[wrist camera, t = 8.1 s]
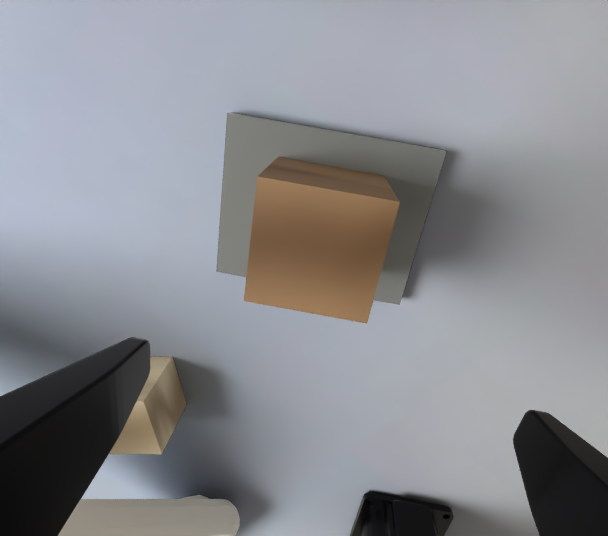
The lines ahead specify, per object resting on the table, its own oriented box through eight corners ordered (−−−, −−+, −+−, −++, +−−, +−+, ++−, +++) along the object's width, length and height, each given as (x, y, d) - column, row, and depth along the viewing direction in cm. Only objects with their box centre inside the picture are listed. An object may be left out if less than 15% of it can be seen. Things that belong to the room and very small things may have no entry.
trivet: (397, 297, 21) (399, 304, 20) (220, 265, 21) (216, 271, 20) (441, 149, 18) (446, 151, 17) (231, 112, 18) (227, 113, 17)
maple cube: (187, 403, 26) (161, 454, 22) (132, 404, 26) (98, 454, 22) (173, 355, 24) (143, 401, 20) (114, 357, 25) (75, 402, 21)
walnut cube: (360, 271, 20) (367, 323, 15) (265, 254, 20) (244, 300, 15) (384, 175, 17) (399, 202, 13) (278, 156, 18) (257, 176, 13)
